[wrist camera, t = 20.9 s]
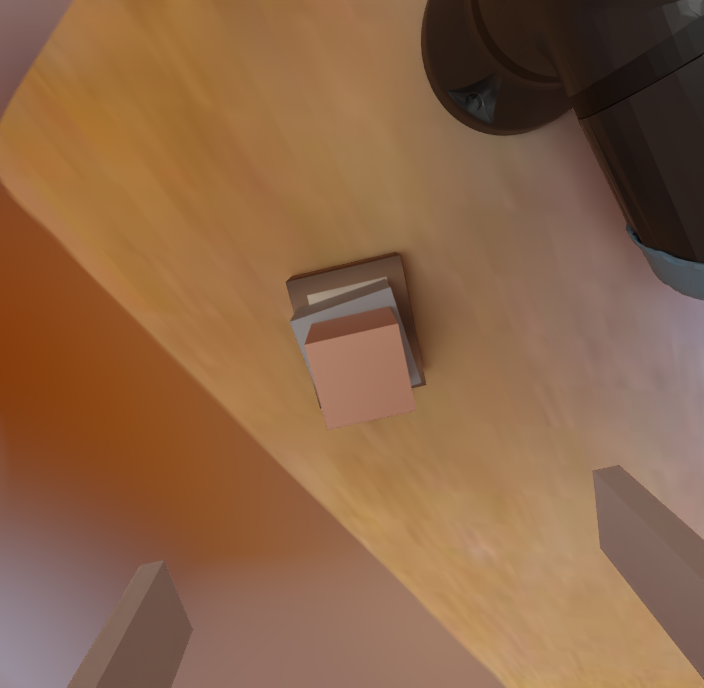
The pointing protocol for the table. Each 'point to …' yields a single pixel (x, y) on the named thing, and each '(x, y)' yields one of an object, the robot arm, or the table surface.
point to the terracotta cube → (359, 368)
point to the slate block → (347, 305)
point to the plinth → (352, 277)
